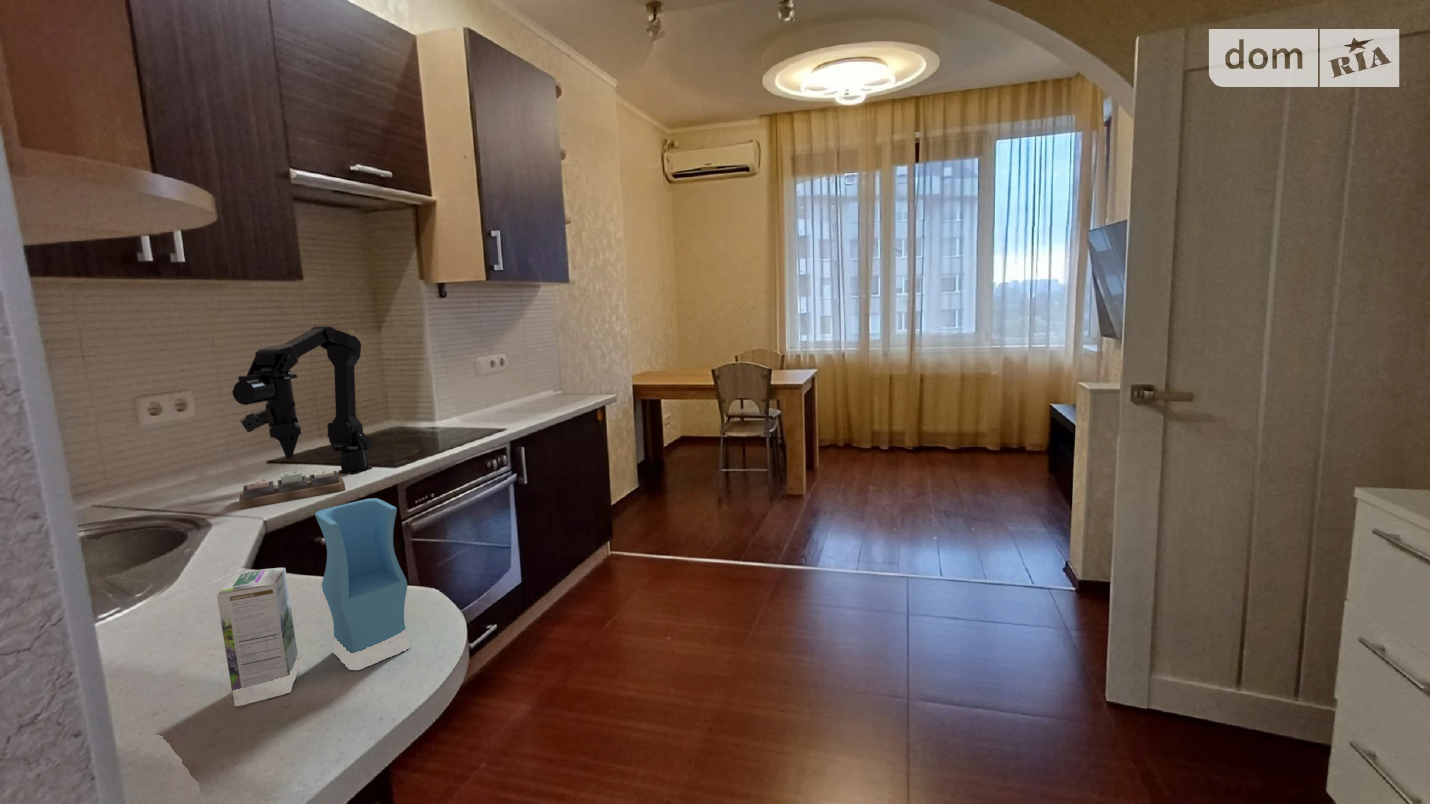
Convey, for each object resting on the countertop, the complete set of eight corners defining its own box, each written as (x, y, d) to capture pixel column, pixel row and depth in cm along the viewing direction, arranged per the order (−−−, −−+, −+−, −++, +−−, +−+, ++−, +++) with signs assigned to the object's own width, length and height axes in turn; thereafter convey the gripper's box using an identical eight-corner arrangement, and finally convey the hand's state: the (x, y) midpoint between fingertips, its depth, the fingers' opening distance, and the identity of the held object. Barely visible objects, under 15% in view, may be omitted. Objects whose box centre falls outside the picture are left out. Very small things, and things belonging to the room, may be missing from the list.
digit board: (342, 482, 168) (340, 468, 167) (345, 490, 161) (343, 475, 160) (241, 500, 155) (238, 485, 155) (240, 509, 148) (237, 493, 147)
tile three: (269, 486, 157) (268, 479, 156) (269, 490, 153) (268, 482, 153) (248, 490, 154) (247, 482, 154) (247, 494, 151) (246, 486, 150)
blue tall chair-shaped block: (351, 674, 78) (329, 525, 75) (331, 652, 84) (310, 512, 80) (415, 647, 84) (397, 507, 81) (392, 628, 89) (375, 496, 86)
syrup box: (246, 683, 77) (227, 574, 75) (302, 669, 80) (285, 564, 77) (234, 709, 72) (213, 594, 70) (293, 694, 75) (275, 582, 72)
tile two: (302, 477, 160) (300, 470, 160) (302, 481, 157) (301, 473, 157) (281, 480, 158) (280, 473, 158) (282, 484, 154) (280, 476, 154)
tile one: (333, 476, 165) (332, 468, 164) (335, 479, 161) (334, 472, 161) (314, 479, 162) (313, 471, 162) (315, 482, 159) (314, 475, 158)
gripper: (240, 398, 157) (250, 457, 159) (238, 406, 142) (249, 472, 144) (293, 393, 163) (301, 450, 166) (296, 400, 148) (305, 463, 151)
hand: (289, 458), depth 157 cm, fingers closed
